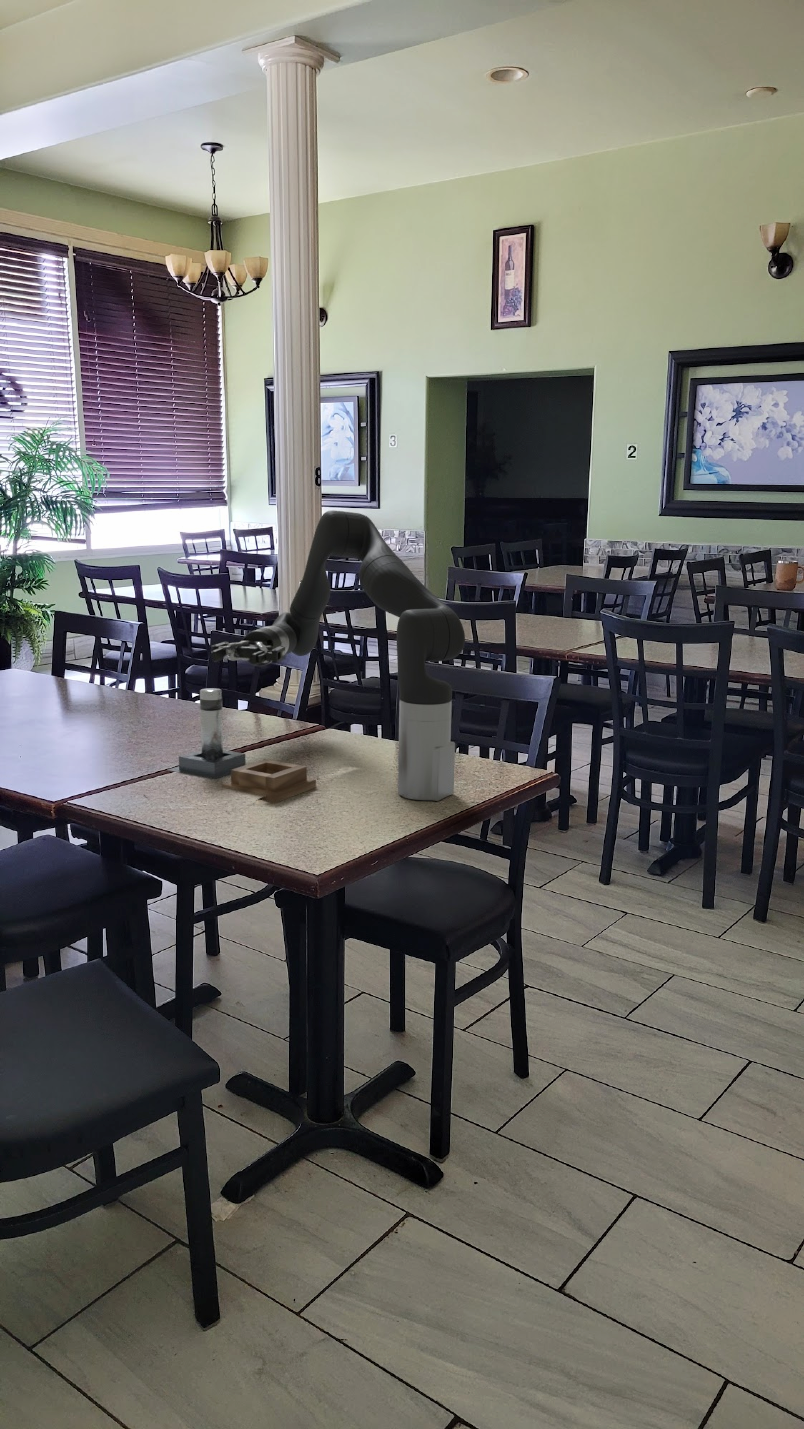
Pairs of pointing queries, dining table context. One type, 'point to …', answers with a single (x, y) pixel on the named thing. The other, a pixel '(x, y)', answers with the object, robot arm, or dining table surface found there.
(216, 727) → the clear test tube
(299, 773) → the brown wooden square holder
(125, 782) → the dining table surface
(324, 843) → the dining table surface
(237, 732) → the dining table surface
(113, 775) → the dining table surface
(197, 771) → the socket
